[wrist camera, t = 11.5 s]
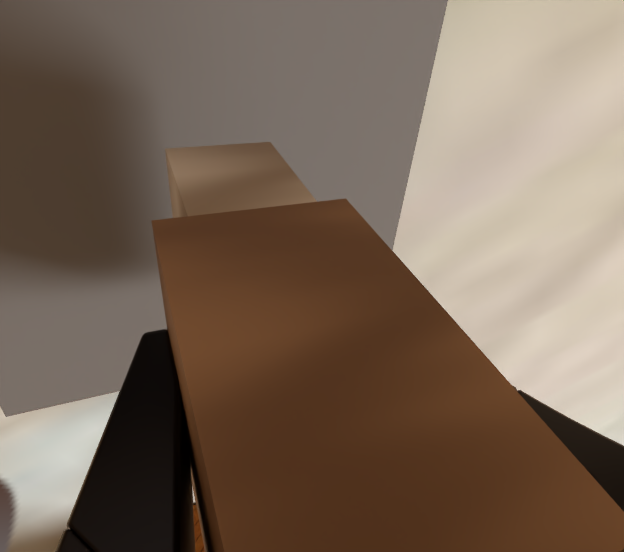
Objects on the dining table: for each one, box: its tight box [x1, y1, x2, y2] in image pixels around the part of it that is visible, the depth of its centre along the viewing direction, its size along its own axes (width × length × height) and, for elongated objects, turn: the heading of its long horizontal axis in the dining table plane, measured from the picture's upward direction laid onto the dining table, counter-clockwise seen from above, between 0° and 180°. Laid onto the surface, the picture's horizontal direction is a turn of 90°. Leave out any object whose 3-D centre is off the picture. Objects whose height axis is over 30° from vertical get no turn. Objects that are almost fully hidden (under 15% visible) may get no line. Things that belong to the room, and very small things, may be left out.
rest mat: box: [0, 0, 448, 417], centre depth 12 cm, size 12×12×1 cm
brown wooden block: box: [151, 142, 624, 552], centre depth 7 cm, size 3×5×8 cm, turn 176°
